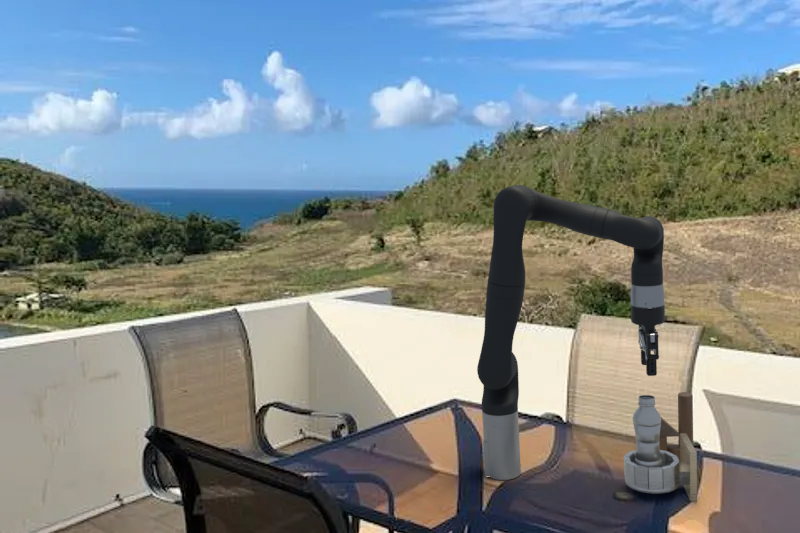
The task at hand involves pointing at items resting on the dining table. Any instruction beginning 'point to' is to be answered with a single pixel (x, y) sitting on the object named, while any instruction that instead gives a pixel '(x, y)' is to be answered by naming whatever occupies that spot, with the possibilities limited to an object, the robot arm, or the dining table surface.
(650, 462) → the plastic bottle
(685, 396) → the wooden wedge with rod
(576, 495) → the dining table surface
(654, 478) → the ring
